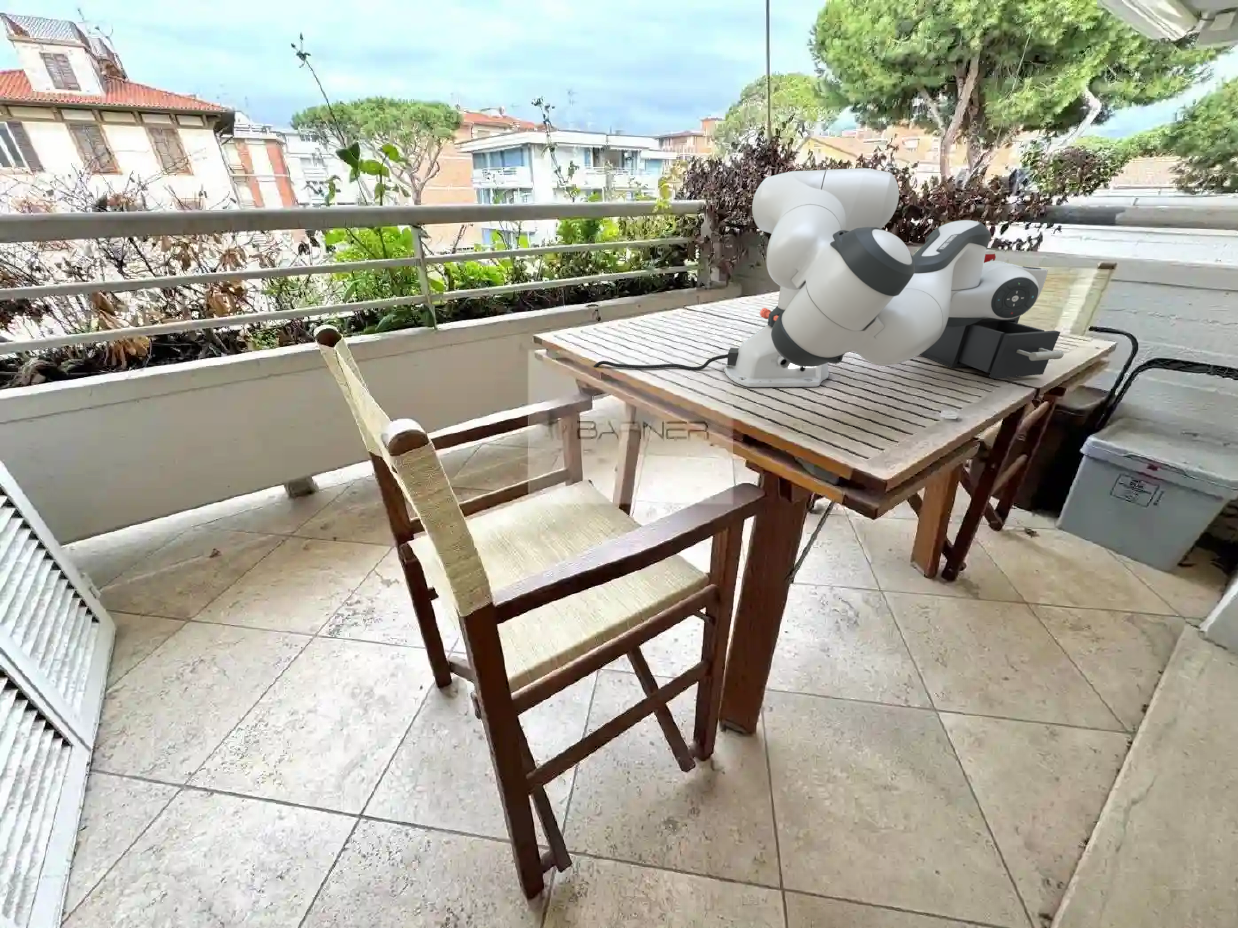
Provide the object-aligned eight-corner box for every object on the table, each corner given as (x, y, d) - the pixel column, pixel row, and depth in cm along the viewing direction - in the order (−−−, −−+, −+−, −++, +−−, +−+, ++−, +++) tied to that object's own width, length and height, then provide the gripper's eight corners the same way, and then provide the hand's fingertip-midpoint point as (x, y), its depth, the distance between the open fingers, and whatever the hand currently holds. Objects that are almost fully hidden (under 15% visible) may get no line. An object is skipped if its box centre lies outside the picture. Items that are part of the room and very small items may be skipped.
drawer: (1063, 381, 97) (1083, 337, 93) (1012, 386, 95) (1030, 341, 91) (989, 356, 113) (1003, 317, 108) (944, 359, 111) (957, 320, 107)
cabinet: (1002, 364, 110) (1020, 316, 105) (952, 368, 109) (967, 319, 103) (953, 347, 123) (967, 303, 118) (907, 350, 121) (919, 306, 116)
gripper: (927, 298, 102) (918, 288, 113) (1045, 303, 96) (1022, 292, 107) (936, 266, 99) (925, 259, 110) (1058, 269, 92) (1034, 261, 104)
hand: (974, 275), depth 109 cm, fingers closed on soda can, 5 cm apart
